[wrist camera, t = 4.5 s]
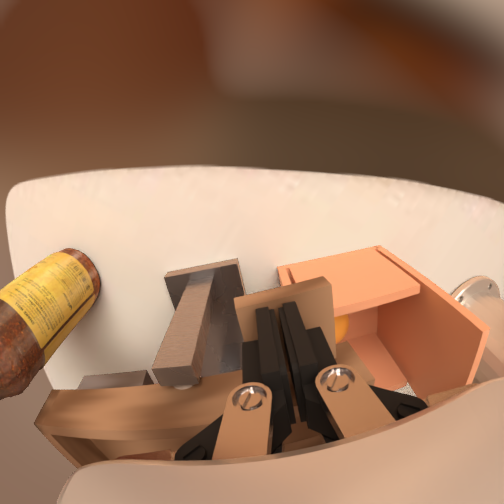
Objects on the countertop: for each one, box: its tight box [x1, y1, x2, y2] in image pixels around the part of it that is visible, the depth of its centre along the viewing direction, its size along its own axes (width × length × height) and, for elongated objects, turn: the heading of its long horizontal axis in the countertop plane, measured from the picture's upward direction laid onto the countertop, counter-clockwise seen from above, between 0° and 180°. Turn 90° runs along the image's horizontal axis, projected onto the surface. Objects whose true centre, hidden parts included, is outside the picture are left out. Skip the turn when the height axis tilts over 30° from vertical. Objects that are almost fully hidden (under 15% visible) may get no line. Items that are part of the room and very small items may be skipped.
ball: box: [334, 314, 349, 344], centre depth 22 cm, size 4×4×4 cm
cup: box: [277, 245, 490, 400], centre depth 17 cm, size 9×9×14 cm
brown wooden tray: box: [34, 276, 375, 469], centre depth 13 cm, size 18×12×6 cm, turn 101°
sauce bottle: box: [0, 248, 100, 400], centre depth 13 cm, size 7×6×20 cm
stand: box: [151, 258, 246, 386], centre depth 19 cm, size 6×12×12 cm, turn 11°
